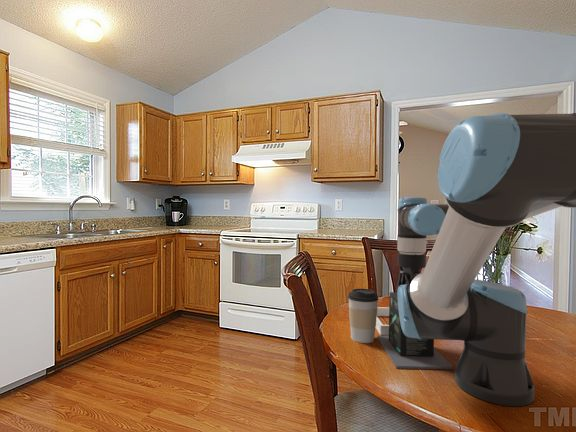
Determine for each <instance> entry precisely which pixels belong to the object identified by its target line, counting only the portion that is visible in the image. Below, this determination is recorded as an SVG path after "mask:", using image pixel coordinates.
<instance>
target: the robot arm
mask: <svg viewBox="0 0 576 432" xmlns="http://www.w3.org/2000/svg"><path fill="white" fill-rule="evenodd" d="M438 159H439V160H438V161H439V166H438V168H437V184H438V188H439V189H438V190H439V191H440V193H441V195H442V196H443V198H444V200H445V202H446V204H445V203H442V204H441V203H435V204H434V203H428V200H427V198H425V197H420V196H415V197H414V196H409V197H408V196H407V197H406V196H405V197H400V199H399V200H398V206H397V207H398V208H397V244H396V245H397V246H396V247H397V251H398V253H397V254H396V255H397V256H396V257H397V263H396V264H397V266H398V267H399V268H398V269H399V271H398V272H399V273H398V278H397V283H396V288H395V293H397V297H398V310H399V318H400V324H401V328H402V331H403V333H404V335H405V336H407V337H409V338H418V339H434V340H440V341H441V340H443V341H444V340H445V341H463V349H462V351H461V354H460V357H458V358H459V359H458V361H457V363H456V366H455V369H454V382H455V383H456V385H457V386H458V387H459V388H460V389H461V390H463V391H464V392H466V393H467V394H469V395H471V396H472V397H475V398H478V399H479V400H482V401H485V402H489V403H491V404H495V405H501V406H505V407H506V406H508V407H522V406H528V405H530V404H532V403H533V402H534V401H535V391H536V390H535V385H534V382H533V377H532V376H531V373H530V370H529V368H528V367H529V366H528V364H527V361H526V341H527V338H526V337H527V314H528V309H527V308H528V306H527V298H526V295H525V293H524V292H522V291H521V290H519V289H517V288H515V287H512V286H509V285H505V284H502V283H498V282H492V281H487V280H482V279H476V277H477V276H478V275H479V273H480V271H481V270H482V268H483V266H484V265H485V263H486V261H487V259H488V258H489V256H490V254H491V253H492V251H493V250H494V248H495V246H496V245H497V243H498V241H500V238H501V236H502V234H503V233H504V231H505V230H506V229H507V228H510V227H515V226H517V225H519V224H521V223H523V221H524V220H527V219H530V218H533V217H534V216H535V217H536V216H539V215H541V214H544V213H546V212H549V211H552V210H556V209H558V208H560V207H563V208H570V209H574V208H575V209H576V112H573V113H542V114H541V113H537V114H536V113H535V114H533V113H532V114H530V113H529V114H510V113H503V112H496V113H493V114H491V113H490V114H488V115H474V116H469V117H468V118H466V119H463V120H462V121H460V122H459V123H457V124H456V125H455V126H454V127H453V128H452V129H451V131H449V134H448V136H447V137H446V139H445V141H444V143H443V146H442V148H441V152H440V153H439V158H438ZM434 235H435V236H436V235H437V236H436V239H435V242H434V244H433V247H432V249H431V252H430V255H429V258H428V260H427V255H426V254H425V253H426V252H427V245H428V244H429V243H428V242H429V241H428V240H427V236H434ZM421 269H424V270H423V272H421V271H420V270H421Z"/></svg>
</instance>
